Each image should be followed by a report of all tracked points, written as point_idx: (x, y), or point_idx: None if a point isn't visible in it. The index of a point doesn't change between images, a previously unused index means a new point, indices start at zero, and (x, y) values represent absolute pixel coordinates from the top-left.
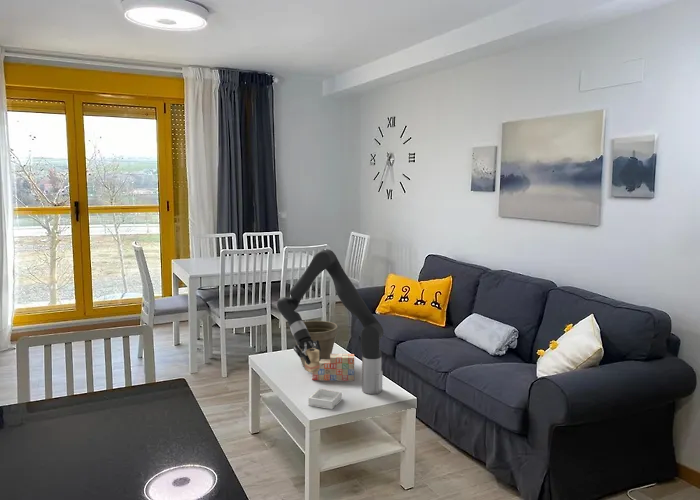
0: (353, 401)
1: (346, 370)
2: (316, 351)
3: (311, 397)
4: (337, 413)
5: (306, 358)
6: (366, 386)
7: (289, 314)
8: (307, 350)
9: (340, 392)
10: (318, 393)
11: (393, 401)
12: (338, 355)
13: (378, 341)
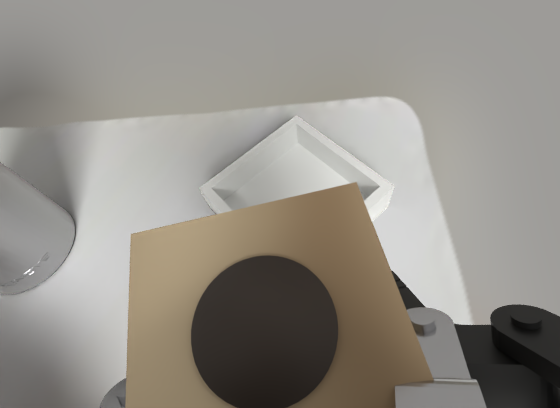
0: (178, 174)
1: None
2: (208, 223)
3: (373, 193)
4: (293, 106)
5: (405, 297)
6: (49, 205)
7: None
8: (392, 339)
9: (206, 188)
10: None
11: (55, 127)
12: None
13: None
